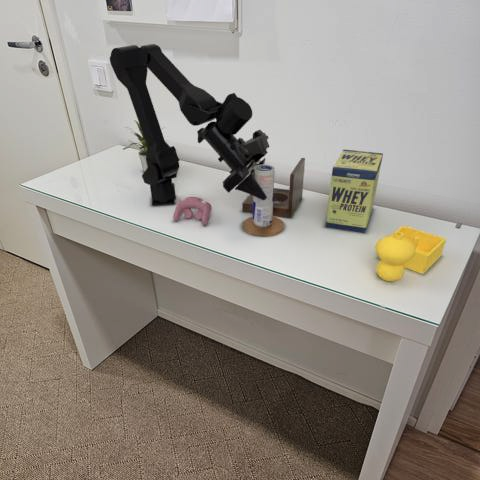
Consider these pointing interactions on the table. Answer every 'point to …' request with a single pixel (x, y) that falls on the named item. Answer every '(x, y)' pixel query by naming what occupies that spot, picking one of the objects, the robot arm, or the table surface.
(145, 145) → the house plant
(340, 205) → the protein box
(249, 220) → the cork coaster
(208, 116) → the robot arm
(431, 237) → the bath set
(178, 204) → the video game controller
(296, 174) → the panel
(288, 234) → the table surface
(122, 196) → the table surface
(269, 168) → the beverage can
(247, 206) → the can rack
